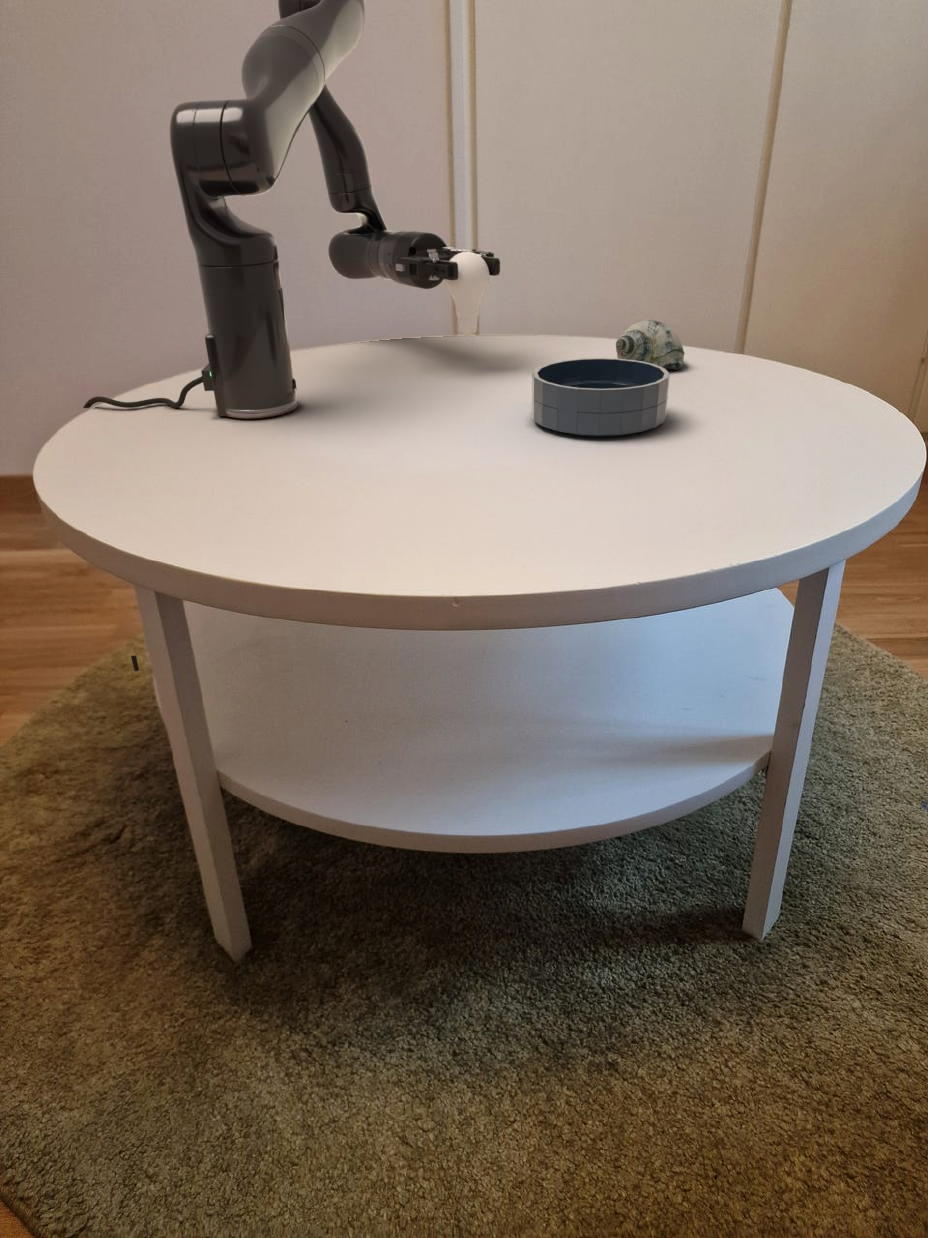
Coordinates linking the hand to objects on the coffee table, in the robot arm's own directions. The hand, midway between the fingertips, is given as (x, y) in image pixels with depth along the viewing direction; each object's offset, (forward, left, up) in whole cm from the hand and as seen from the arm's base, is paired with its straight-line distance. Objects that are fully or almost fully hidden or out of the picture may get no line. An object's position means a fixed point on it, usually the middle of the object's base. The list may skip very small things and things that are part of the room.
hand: (476, 269), depth 114 cm
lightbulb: (-1, +2, -9) cm, 10 cm away
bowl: (+13, -25, -14) cm, 31 cm away
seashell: (+24, 0, -14) cm, 28 cm away
